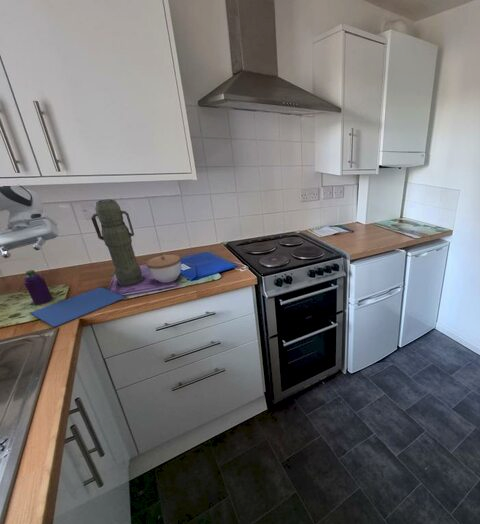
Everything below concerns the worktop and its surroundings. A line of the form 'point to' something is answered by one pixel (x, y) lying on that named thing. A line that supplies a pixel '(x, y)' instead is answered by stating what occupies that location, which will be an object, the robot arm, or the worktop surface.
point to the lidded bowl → (164, 268)
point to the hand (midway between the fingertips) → (21, 252)
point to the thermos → (118, 241)
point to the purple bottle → (37, 288)
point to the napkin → (77, 306)
